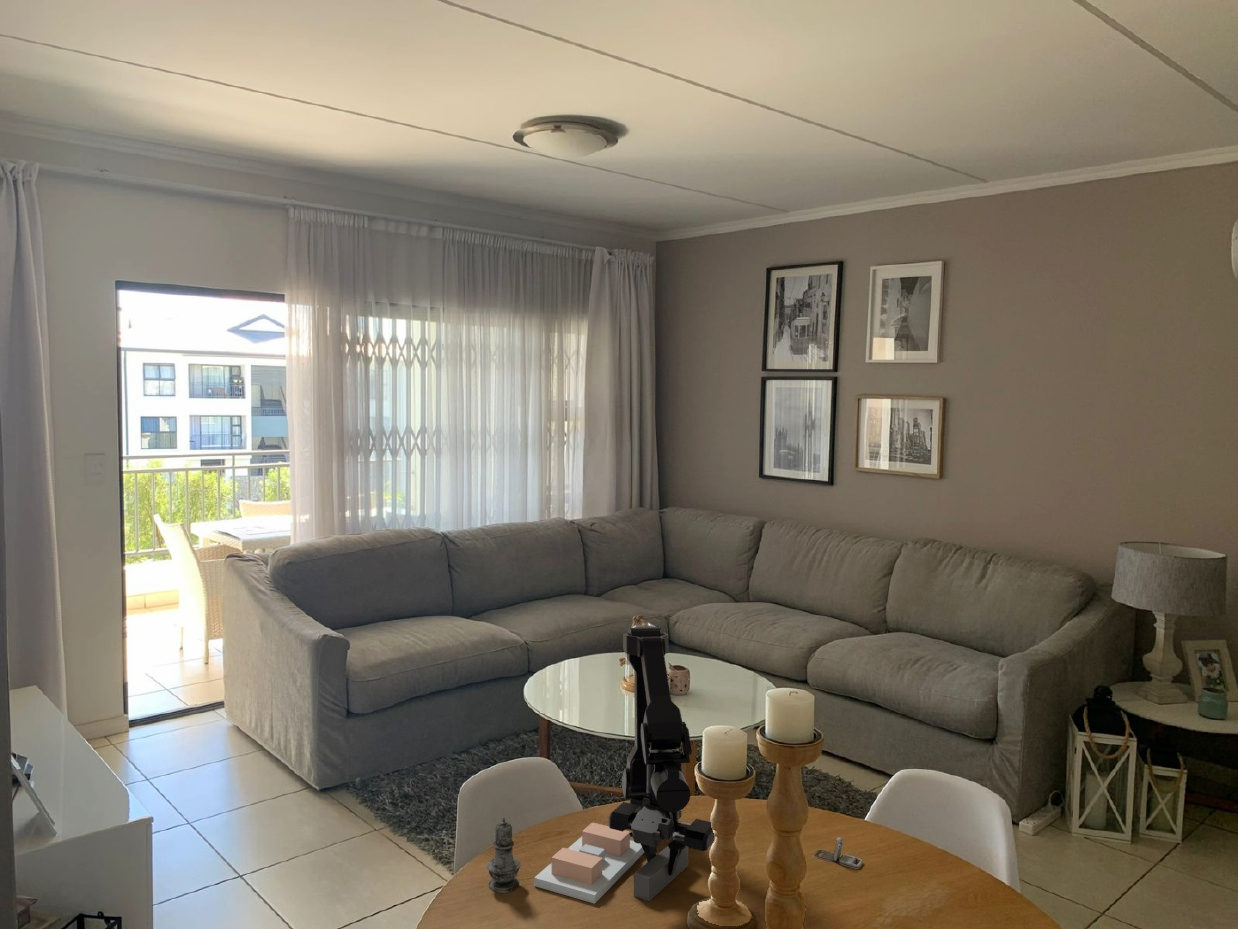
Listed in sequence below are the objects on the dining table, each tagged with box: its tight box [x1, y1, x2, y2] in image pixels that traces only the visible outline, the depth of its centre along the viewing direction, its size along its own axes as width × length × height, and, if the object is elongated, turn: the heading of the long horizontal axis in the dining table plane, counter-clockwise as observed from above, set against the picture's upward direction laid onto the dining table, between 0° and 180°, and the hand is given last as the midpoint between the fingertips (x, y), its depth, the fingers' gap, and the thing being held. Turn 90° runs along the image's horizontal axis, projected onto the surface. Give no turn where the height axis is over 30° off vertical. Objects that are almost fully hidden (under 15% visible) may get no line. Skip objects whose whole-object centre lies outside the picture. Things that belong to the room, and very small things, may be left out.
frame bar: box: [633, 845, 689, 902], centre depth 161 cm, size 14×3×4 cm, turn 147°
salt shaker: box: [486, 817, 522, 894], centre depth 159 cm, size 6×6×12 cm
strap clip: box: [813, 836, 863, 870], centre depth 169 cm, size 8×3×4 cm, turn 58°
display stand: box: [533, 822, 645, 905], centre depth 165 cm, size 20×12×4 cm, turn 153°
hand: (661, 872), depth 161 cm, fingers closed on frame bar, 3 cm apart
